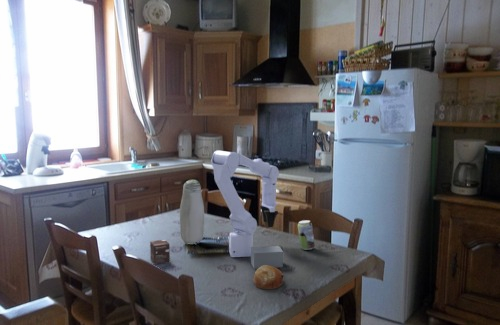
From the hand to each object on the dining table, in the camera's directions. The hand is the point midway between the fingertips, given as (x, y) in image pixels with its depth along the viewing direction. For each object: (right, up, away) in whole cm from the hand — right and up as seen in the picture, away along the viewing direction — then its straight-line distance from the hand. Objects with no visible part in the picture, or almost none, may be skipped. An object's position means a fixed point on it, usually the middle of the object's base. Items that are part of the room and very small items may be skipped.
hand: (268, 224), depth 174 cm
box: (-42, -12, -17) cm, 47 cm away
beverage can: (+16, -10, -2) cm, 19 cm away
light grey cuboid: (-2, -12, -20) cm, 24 cm away
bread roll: (-2, -15, -36) cm, 39 cm away
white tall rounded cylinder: (-33, -9, +2) cm, 34 cm away
